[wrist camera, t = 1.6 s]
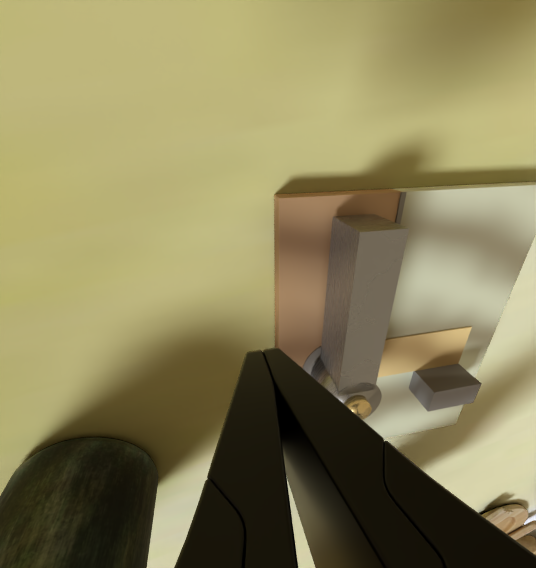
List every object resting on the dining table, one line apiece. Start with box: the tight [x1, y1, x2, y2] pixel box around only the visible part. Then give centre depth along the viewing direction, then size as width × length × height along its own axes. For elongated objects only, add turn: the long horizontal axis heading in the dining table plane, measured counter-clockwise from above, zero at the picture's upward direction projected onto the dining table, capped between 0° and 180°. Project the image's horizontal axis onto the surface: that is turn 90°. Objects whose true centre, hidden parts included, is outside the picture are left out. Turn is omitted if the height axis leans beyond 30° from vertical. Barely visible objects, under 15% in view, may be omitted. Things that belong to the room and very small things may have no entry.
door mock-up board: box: [274, 182, 536, 439], centre depth 20 cm, size 22×18×4 cm
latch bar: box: [311, 214, 409, 420], centre depth 17 cm, size 13×4×4 cm, turn 1°
